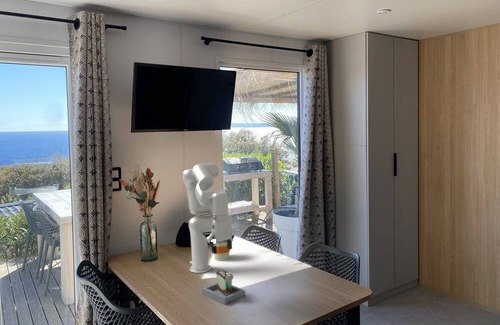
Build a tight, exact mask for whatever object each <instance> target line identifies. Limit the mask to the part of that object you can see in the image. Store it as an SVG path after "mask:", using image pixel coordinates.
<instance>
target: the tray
mask: <svg viewBox="0 0 500 325" xmlns="http://www.w3.org/2000/svg"><path fill="white" fill-rule="evenodd" d="M201 292H202V293H201V295H204V296H206V297H208V298H210V299H212V300H214V301H216V302H218V303H220V304H223V305H225V306H226V305H227V304H230V303H232V302H235V301H237V300H239V299H242V298H245V297H246V290H245V289H243V288H240V287H238V286H236V285H233V284H232V290H231V294H230V295H228V296H226V297H225V296H224V295H223V294H221V293H220V292H219V291H218V286H217V282H215V283H212V284H209V285H207V286H204V287H202V288H201Z"/></svg>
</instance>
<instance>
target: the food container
mask: <svg viewBox="0 0 500 325" xmlns="http://www.w3.org/2000/svg"><path fill="white" fill-rule="evenodd" d="M233 279H234V275H233V273H232V272H231V271H230V270H226V269H225V270H224V269H222V270H221V269H218V270H216V283H217V286H218V291H219V292H220V293H221V294H223V295H224V296H225V297H226V296H228V295H230V294H231V290H232V285H233Z"/></svg>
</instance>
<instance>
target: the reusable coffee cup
mask: <svg viewBox="0 0 500 325" xmlns="http://www.w3.org/2000/svg"><path fill="white" fill-rule="evenodd" d="M211 241H212V238H211ZM214 242H215V241H214ZM215 246H217V254H214V253H213V256H214V260H215V261H218V262H223V261H227V260H229V259H230V252H231V249H228V248H227V240H225V241H221V242H217V243H216V245H215Z"/></svg>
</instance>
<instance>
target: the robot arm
mask: <svg viewBox="0 0 500 325" xmlns="http://www.w3.org/2000/svg"><path fill="white" fill-rule="evenodd" d="M219 175H220V169H219V165H217V163H215V162H207V163H206V162H205V163H203V162H202V163H198V164H196V165H194V166H193V168H188V169H185V170H183V172H182V182H183V184H184V186H185V189H186V191H187V199H188V200H187V201H188V209H189V212H190V214H192V215H199V216H193V217H192V218H189V220H188V228H189V233H190V235H189V236H190V246H191V260H190V261H189V264H191V266H190V267H189V272H192V273H195V274H203V273H207V272H209V271H210V270H212V266H211V265H209V246H210V247H211V248H210V249H211V253H212V254H213V255H214V254H217V246H215V245H216V243H217V242H221V241H225V240H227V248H228V249H230V250H233V241H234V238H235V235H236V231H235V230H234V229H232V228H233V227H232V223H231V222H232V221H231V218H229V196H228V193H227V192H226V191H225V190H224V189H221V188H220V189H211V188H212V187H213V186H214V184H215V180H216V179H217V178H218V176H219ZM209 189H210V190H209ZM202 214H203V215H202ZM204 214H207V215H204ZM209 232H210V234H209V236H207V237H206V236H205V235H204V233H209ZM211 238H212V241H211ZM214 241H215V242H214ZM208 244H209V246H208Z"/></svg>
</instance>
